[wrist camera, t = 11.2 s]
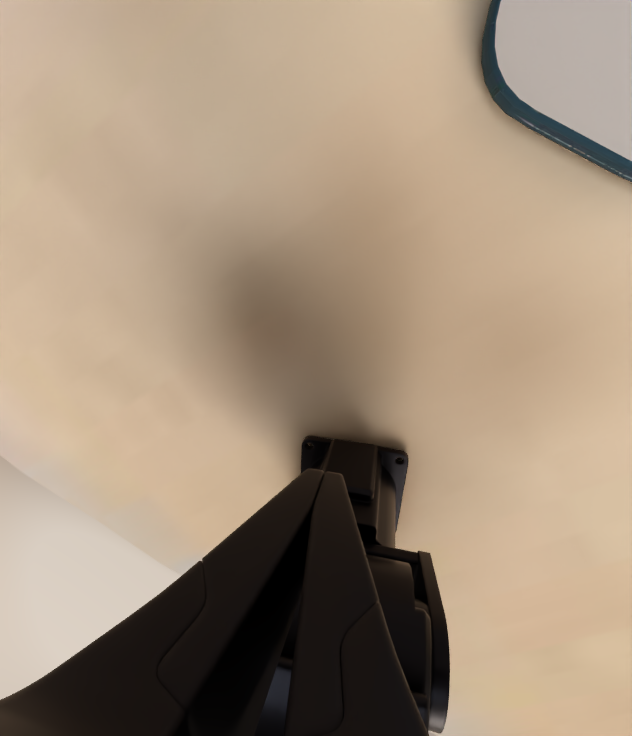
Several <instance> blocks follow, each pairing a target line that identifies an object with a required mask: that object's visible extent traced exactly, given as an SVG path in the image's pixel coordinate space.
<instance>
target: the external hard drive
mask: <svg viewBox="0 0 632 736" xmlns="http://www.w3.org/2000/svg"><path fill="white" fill-rule="evenodd" d="M481 64H482V69H483V75H484V80H485V84H486V86H487V88H488V90H489V92H490V94H491V96H492V98H493V100H494V101H495V102H496V103H497V104H498V105H499V107H500V108H501V109H502V110H503V111H504V112H505V113H506V114H507V115H509V116H511V117H512V118H514V119H515V120H517V121H518V122H520V123H522V124H523V125H525V126H526V127H528V128H530V129H531V130H533V131H535V132H537V133H539V134H541V135H543V136H544V137H546V138H548V139H550V140H552V141H554V142H556V143H557V144H559V145H561V146H563V147H565V148H567V149H569V150H571V151H572V152H574V153H576V154H578V155H580V156H582V157H584V158H585V159H587V160H589V161H591V162H593V163H595V164H597V165H598V166H600V167H602V168H604V169H606V170H608V171H610V172H612V173H613V174H615V175H617V176H619V177H621V178H624V179H626V180H628V181H630V182H632V0H492V1H491V4H490V7H489V11H488V16H487V20H486V25H485V29H484V34H483V39H482V58H481Z"/></svg>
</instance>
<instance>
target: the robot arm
mask: <svg viewBox="0 0 632 736" xmlns="http://www.w3.org/2000/svg"><path fill="white" fill-rule="evenodd" d="M307 443H311V444H313V446H309V445H308V444H307ZM398 457H401V458H403V460H397V459H396V458H398ZM407 467H408V455H407V453H406V452H404V451H402V450H397V449H391V448H384V447H378V446H374V445H370V444H364V443H358V442H351V441H345V440H338V439H335V440H333V439H327V438H321V437H314V436H307V437H305V439H304V440H303V443H302V456H301V474H300V475H299V476H298V477H297V478H296V479H295V480H293V481H292V482H291V483H290V484H289V485H288V486H286V487H285V488H284V489H283V490H282V491H281V492H279V493H278V494H277V495H276V496H275V497H274V498H272V499H271V500H270V501H269V502H268V503H267V504H265V505H264V506H263V507H262V508H261V509H260V510H258V511H257V512H256V513H255V514H254V515H253V516H251V517H250V518H249V519H248V520H247V521H246V522H244V523H243V524H242V525H241V526H240V527H239V528H237V529H236V530H235V531H234V532H233V533H232V534H230V535H229V536H228V537H227V538H226V539H225V540H223V541H222V542H221V543H220V544H219V545H218V546H216V547H215V548H214V549H213V550H212V551H211V552H209V553H208V554H207V555H206V556H205V557H204V558H203V559H202V561H199V562H197V563H196V564H195V565H194V566H193V567H192V568H190V569H189V570H188V571H187V572H186V573H185V574H183V575H182V576H181V577H180V578H179V579H177V580H176V581H175V582H174V583H172V584H171V585H170V586H169V587H167V588H166V589H165V590H164V591H163V592H161V593H160V594H159V595H157V596H156V597H155V598H153V599H152V600H151V601H149V602H148V603H147V604H145V605H144V606H142V607H141V608H140V609H139V610H137V611H136V612H134V613H133V614H132V615H130V616H129V617H127V618H126V619H125V620H123V621H122V622H121V623H119V624H118V625H116V626H115V627H113V628H112V629H111V630H109V631H108V632H106V633H105V634H104V635H102V636H101V637H99V638H98V639H97V640H95V641H94V642H92V643H91V644H90V645H88V646H87V647H86V648H84V649H83V650H81V651H80V652H78V653H77V654H75V655H74V656H73V657H71V658H70V659H69V660H67V661H66V662H64V663H63V664H61V665H60V666H59V667H57V668H56V669H54V670H53V671H52V672H50V673H48V674H47V675H45V676H44V677H42V678H41V679H39V680H37V681H36V682H34V683H32V684H31V685H29V686H27V687H26V688H24V689H22V690H20V691H18V692H16V693H15V694H12V695H10V696H8V697H6V698H4V699H1V700H0V736H429V734H428V730H429V731H433V732H436V733H441V732H442V731H443V729H444V726H445V722H446V717H447V710H448V700H449V681H450V660H449V641H448V631H447V624H446V618H445V613H444V609H443V605H442V601H441V597H440V592H439V588H438V584H437V580H436V576H435V572H434V567H433V563H432V559H431V555H430V553H427V552H422V551H418V553H416V552H411V551H406V550H401V549H396V548H395V532H396V529H397V524H398V518H399V512H400V507H401V501H402V495H403V490H404V484H405V478H406V473H407ZM202 562H203V563H202Z"/></svg>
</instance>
